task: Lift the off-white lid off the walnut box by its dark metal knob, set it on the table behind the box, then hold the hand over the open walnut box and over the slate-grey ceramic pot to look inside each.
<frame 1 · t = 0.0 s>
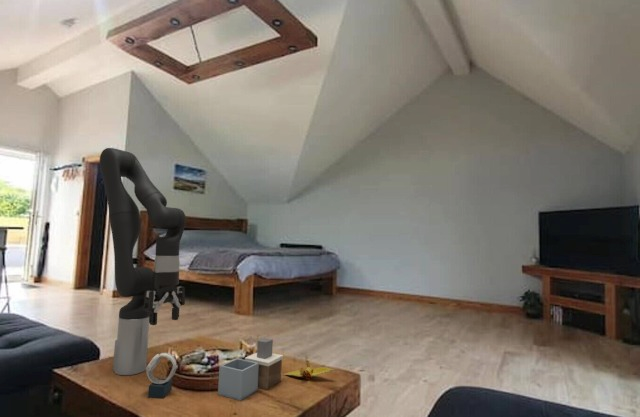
hand: (164, 322, 121), 17 cm above the table, tool pointing down, fingers open, 8 cm apart
lid: (264, 359, 120), point 7 cm above the table, touching walnut box
origami crane: (307, 378, 125), on the table
walnut box: (263, 382, 120), on the table
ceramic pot: (237, 392, 111), on the table
watch: (159, 394, 108), on the table
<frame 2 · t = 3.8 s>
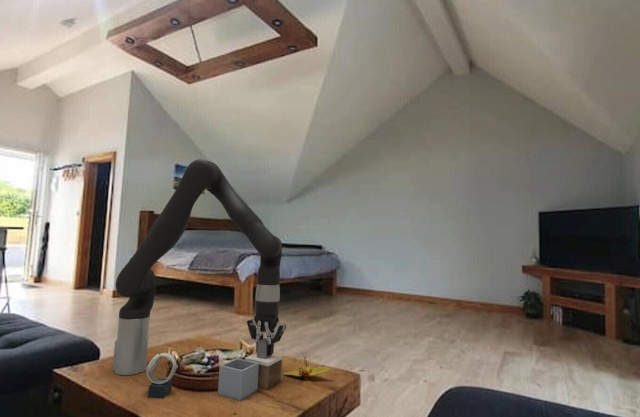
hand: (264, 354, 120), 9 cm above the table, tool pointing down, fingers closed on lid, 3 cm apart
lid: (264, 359, 120), point 7 cm above the table, touching gripper, walnut box
everything else where it was.
when the fingers open (4 cm above the table, at t = 8.9 s): lid drops 1 cm, resting on origami crane.
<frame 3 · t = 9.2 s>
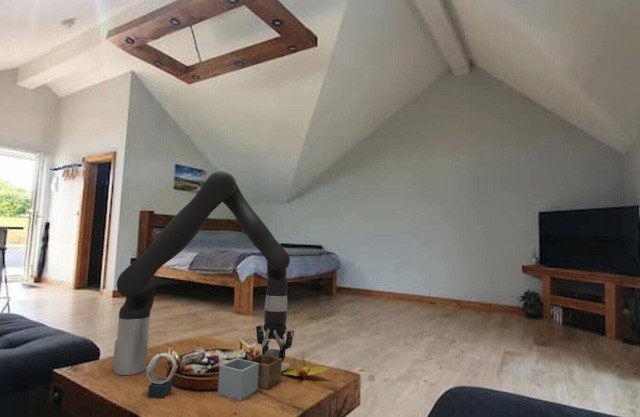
hand: (273, 359, 130), 4 cm above the table, tool pointing down, fingers open, 5 cm apart
lid: (272, 369, 129), point 1 cm above the table, touching origami crane
origami crane: (304, 378, 126), on the table, touching lid
everything else where it was.
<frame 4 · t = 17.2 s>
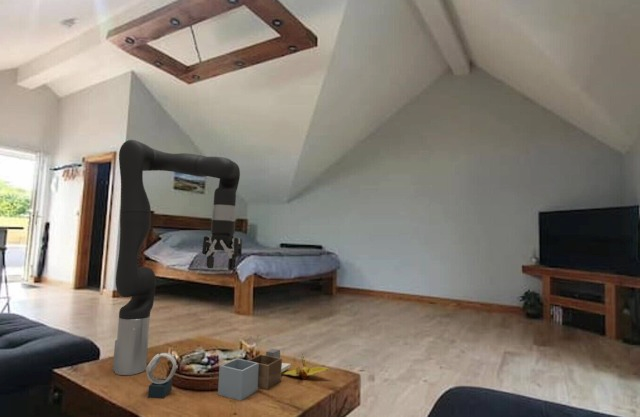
hand: (220, 269, 125), 34 cm above the table, tool pointing down, fingers open, 8 cm apart
nothing on the table moved.
at the end: lid inside the target area (0.3 cm from its centre), point 1.0 cm above the table; lid tilted 4°; the gripper is holding nothing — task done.
